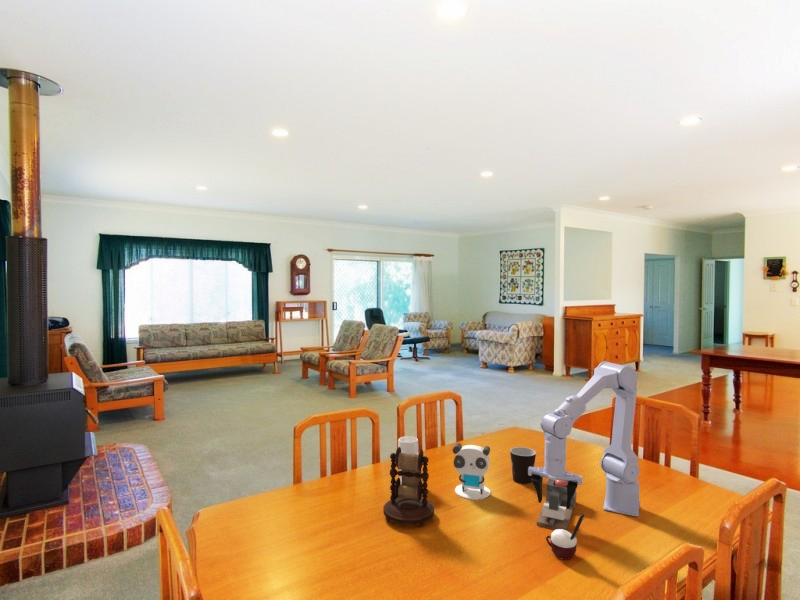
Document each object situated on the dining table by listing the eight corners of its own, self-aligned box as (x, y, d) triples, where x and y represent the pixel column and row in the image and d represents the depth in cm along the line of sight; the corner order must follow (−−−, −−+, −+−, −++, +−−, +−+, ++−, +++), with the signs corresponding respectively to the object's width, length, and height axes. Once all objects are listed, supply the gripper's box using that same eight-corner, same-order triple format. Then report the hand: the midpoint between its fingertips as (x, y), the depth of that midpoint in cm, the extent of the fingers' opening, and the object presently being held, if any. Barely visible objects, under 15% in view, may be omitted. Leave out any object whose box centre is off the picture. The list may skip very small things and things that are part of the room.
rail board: (576, 502, 148) (577, 483, 148) (567, 532, 131) (568, 510, 130) (549, 496, 152) (549, 477, 152) (536, 525, 134) (537, 504, 134)
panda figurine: (449, 496, 152) (450, 449, 151) (457, 481, 163) (457, 438, 162) (487, 502, 148) (488, 454, 148) (492, 487, 159) (493, 442, 158)
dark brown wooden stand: (438, 508, 144) (439, 442, 143) (428, 533, 130) (428, 460, 129) (391, 501, 148) (391, 437, 147) (376, 525, 134) (376, 454, 133)
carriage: (566, 514, 137) (566, 493, 136) (563, 520, 133) (564, 499, 133) (544, 509, 139) (544, 489, 139) (541, 515, 136) (542, 494, 135)
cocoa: (542, 550, 123) (540, 504, 122) (562, 544, 125) (560, 499, 125) (568, 569, 114) (566, 519, 114) (589, 563, 116) (587, 514, 116)
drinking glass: (418, 487, 158) (418, 443, 157) (397, 487, 158) (397, 442, 157) (417, 479, 165) (418, 436, 164) (398, 478, 165) (398, 435, 164)
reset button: (568, 485, 149) (568, 479, 148) (566, 490, 145) (566, 483, 145) (556, 483, 150) (556, 477, 150) (554, 487, 147) (554, 481, 147)
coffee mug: (529, 487, 158) (530, 458, 158) (505, 481, 164) (505, 452, 163) (542, 476, 168) (543, 448, 167) (519, 470, 173) (519, 443, 172)
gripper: (526, 457, 135) (525, 504, 136) (580, 466, 128) (579, 516, 129) (531, 449, 141) (530, 494, 142) (583, 457, 135) (582, 505, 135)
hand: (554, 504), depth 136 cm, fingers open, 7 cm apart
